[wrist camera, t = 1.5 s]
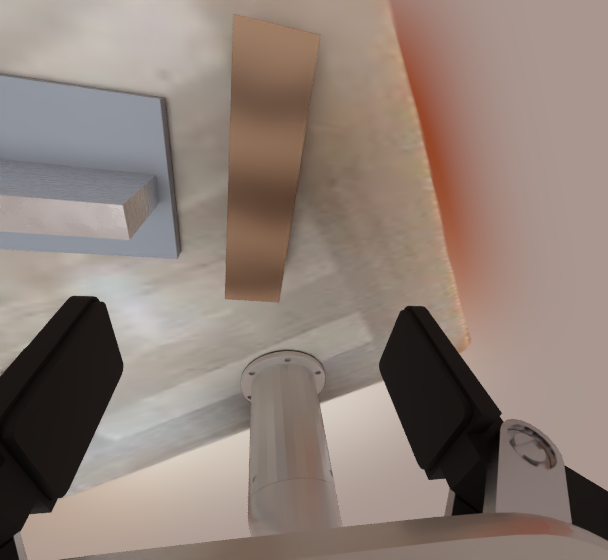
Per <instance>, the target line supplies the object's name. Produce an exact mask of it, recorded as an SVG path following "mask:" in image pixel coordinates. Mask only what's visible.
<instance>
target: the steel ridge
mask: <svg viewBox="0 0 608 560" xmlns="http://www.w3.org/2000/svg"><path fill="white" fill-rule="evenodd" d="M159 203H160V202H159V194H158V186H157V179H156V175H153V174H143V173H133V172H124V171H114V170H104V169H94V168H85V167H75V166H65V165H55V164H45V163H36V162H26V161H16V160H6V159H0V232H15V233H30V234H46V235H61V236H77V237H92V238H108V239H123V240H130V239H131V238H132V236H133V235H134V234H135V233H136V232H137V230H138V229H139V228H140V227H141V225H142V224H143V223H144V222H145V220H146V219H147V218H148V217H149V216H150V214H151V213H152V212H153V211H154V209H155V208H156V207H157V206H158V205H159Z"/></svg>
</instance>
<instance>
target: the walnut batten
mask: <svg viewBox="0 0 608 560" xmlns="http://www.w3.org/2000/svg"><path fill="white" fill-rule="evenodd" d="M319 41H320V35H319V34H314V33H310V32H306V31H302V30H298V29H294V28H290V27H285V26H281V25H277V24H273V23H269V22H265V21H260V20H256V19H252V18H248V17H244V16H240V15H236V14H233V46H232V80H231V114H230V147H229V181H228V215H227V249H226V283H225V299H232V300H249V301H266V302H279V300H280V293H281V287H282V280H283V274H284V267H285V261H286V254H287V248H288V241H289V235H290V228H291V222H292V216H293V209H294V203H295V196H296V190H297V183H298V177H299V170H300V164H301V157H302V151H303V144H304V138H305V131H306V125H307V119H308V112H309V106H310V99H311V93H312V86H313V80H314V73H315V67H316V60H317V54H318V47H319Z"/></svg>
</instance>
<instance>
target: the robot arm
mask: <svg viewBox="0 0 608 560" xmlns="http://www.w3.org/2000/svg"><path fill="white" fill-rule="evenodd" d="M379 369H380V373H381V375H382V377H383V380H384V382H385V385H386V387H387V390H388V392H389V394H390V397H391V399H392V402H393V404H394V407H395V409H396V411H397V414H398V416H399V419H400V421H401V424H402V426H403V429H404V431H405V434H406V436H407V438H408V441H409V443H410V446H411V448H412V451H413V453H414V456H415V458H416V461H417V463H418V465H419V466H420V468H422V469H424V470H425V472H426V475H427V477H428V479H429V480H434V479H445V478H446V481H447V483H448V485H449V487H450V489H449V494H448V499H447V505H446V510H445V515H444V517H433V518H423V519H414V520H404V521H395V522H385V523H377V524H367V525H357V526H347V527H343V526H342V521H341V517H340V511H339V506H338V501H337V496H336V491H335V485H334V480H333V474H332V469H331V463H330V458H329V452H328V448H327V442H326V436H325V431H324V425H323V420H322V414H321V409H320V404H319V398H318V394H319V393H320V392H321V390H322V389H323V387H324V384H325V374H324V370H323V367H322V366H321V364H320V363H319V362H318V361H317V360H316V359H315V358H313V357H311V356H309V355H307V354H304V353H300V352H294V351H282V352H275V353H270V354H267V355H265V356H262V357H260V358H258V359H256V360H255V361H253V362H252V363H251V364H250V365H248V367H247V368H246V369H245V370H244V372H243V374H242V377H241V391H242V394H243V395H244V397H245V398H246V399H247V400H248V401H249V402H251V419H250V455H249V456H250V458H249V492H248V495H249V496H248V523H249V529H250V533H251V536H252V537H249V538H239V539H230V540H222V541H212V542H203V543H196V544H186V545H178V546H169V547H161V548H152V549H143V550H135V551H126V552H117V553H109V554H100V555H91V556H84V557H77V558H69V559H61V560H608V491H606V490H605V489H603V488H601V487H600V486H598V485H596V484H595V483H593V482H591V481H590V480H588V479H586V478H585V477H583V476H581V475H580V474H578V473H576V472H575V471H573V470H572V469H570V468H568V467H567V466H565V465H564V462H563V458H562V455H561V453H560V452H559V450H558V449H557V447H556V445H555V444H554V443H553V442H552V441H551V440H550V439H549V438H548V437H547V436H546V435H545V434H544V433H542V432H541V431H540V430H539V429H537V428H536V427H534V426H532V425H531V424H529V423H526V422H524V421H521V420H516V419H509V420H506V421H505V422H503V421H502V419H501V418H500V415H501V414H502V413H501V411H500V410H499V409H498V407H497V406H496V404H495V403H494V402H493V400H492V399H491V398H490V396H489V395H488V393H487V392H486V391H485V389H484V388H483V386H482V385H481V384H480V382H479V381H478V379H477V378H476V377H475V375H474V374H473V373H472V371H471V370H470V368H469V367H468V366H467V364H466V363H465V361H464V360H463V359H462V357H461V356H460V354H459V353H458V352H457V350H456V349H455V347H454V346H453V345H452V343H451V342H450V340H449V339H448V338H447V336H446V335H445V334H444V332H443V331H442V329H441V328H440V327H439V325H438V324H437V322H436V321H435V320H434V318H433V317H432V315H431V314H430V313H429V311H428V310H427V309H426V308H425V307H423V306H407V307H406V308H405V309H404V310H402V311H400V313H399V316H398V318H397V320H396V323H395V325H394V328H393V330H392V333H391V335H390V337H389V340H388V342H387V345H386V347H385V350H384V352H383V354H382V357H381V359H380V362H379ZM122 372H123V361H122V358H121V354H120V351H119V348H118V344H117V341H116V338H115V334H114V331H113V328H112V324H111V321H110V318H109V314H108V311H107V308H106V305H105V303H104V302H100V301H99V299H98V298H97V297H93V296H72V297H70V298H69V299H68V300H67V301H66V302H65V303H64V304H63V306H62V307H61V308H60V309H59V310H58V311H57V312H56V314H55V315H54V316H53V317H52V318H51V319H50V321H49V322H48V323H47V324H46V325H45V326H44V328H43V329H42V330H41V331H40V332H39V333H38V335H37V336H36V337H35V338H34V339H33V340H32V342H31V343H30V344H29V345H28V346H27V347H26V348H25V349H24V350H23V351H22V352H21V353H20V354H19V356H18V357H17V358H16V359H15V360H14V361H13V363H12V364H11V365H10V366H9V367H8V368H7V370H6V371H5V372H4V373H3V374H2V375H1V376H0V560H27V556H26V552H25V548H24V545H23V541H22V537H21V534H20V531H21V529H22V527H23V526H24V524H25V522H26V520H27V518H28V516H29V514H37V513H49V512H52V509H53V507H54V505H55V503H56V501H57V499H58V498H62V497H63V496H64V495H65V494H66V493H67V491H68V490H69V488H70V486H71V483H72V481H73V479H74V477H75V475H76V473H77V470H78V468H79V466H80V464H81V462H82V460H83V457H84V455H85V453H86V451H87V449H88V447H89V444H90V442H91V440H92V438H93V436H94V434H95V431H96V429H97V427H98V425H99V423H100V421H101V418H102V416H103V414H104V412H105V410H106V408H107V405H108V403H109V401H110V399H111V397H112V395H113V392H114V390H115V388H116V386H117V384H118V382H119V379H120V377H121V375H122Z"/></svg>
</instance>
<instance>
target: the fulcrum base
mask: <svg viewBox="0 0 608 560" xmlns="http://www.w3.org/2000/svg"><path fill="white" fill-rule="evenodd" d="M0 159H6V160H16V161H26V162H36V163H45V164H55V165H65V166H75V167H85V168H94V169H104V170H114V171H124V172H133V173H143V174H153V175H156V179H157V186H158V194H159V202H160V203H159V205H158V206H157V207H156V208H155V209H154V211H153V212H152V213H151V214H150V216H149V217H148V218H147V219H146V220H145V222H144V223H143V224H142V225H141V227H140V228H139V229H138V230H137V232H136V233H135V234H134V235H133V236H132V238H131V239H130V240H123V239H108V238H92V237H77V236H61V235H46V234H30V233H15V232H0V249H10V250H28V251H46V252H64V253H82V254H100V255H118V256H136V257H154V258H172V259H178V257H179V254H180V252H181V250H180V240H179V230H178V220H177V210H176V201H175V191H174V181H173V171H172V161H171V151H170V141H169V132H168V122H167V112H166V102H165V98H162V97H155V96H148V95H142V94H135V93H128V92H121V91H114V90H108V89H101V88H94V87H87V86H80V85H73V84H67V83H60V82H53V81H46V80H39V79H33V78H26V77H19V76H12V75H5V74H0Z"/></svg>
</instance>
